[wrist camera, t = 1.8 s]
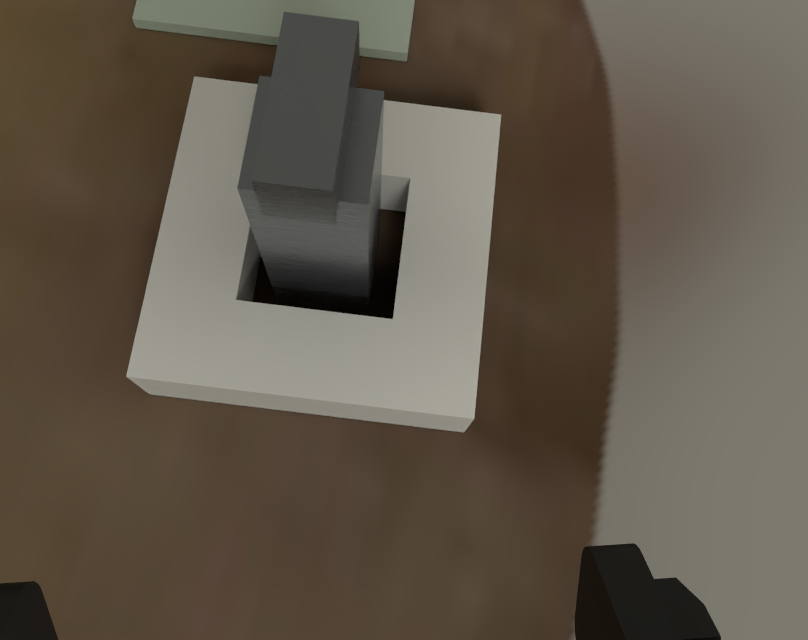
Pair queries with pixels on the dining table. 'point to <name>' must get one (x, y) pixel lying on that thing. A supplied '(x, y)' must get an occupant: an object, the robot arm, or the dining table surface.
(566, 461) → the dining table surface
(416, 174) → the key socket
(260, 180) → the t-key
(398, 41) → the sage mat
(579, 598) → the robot arm
